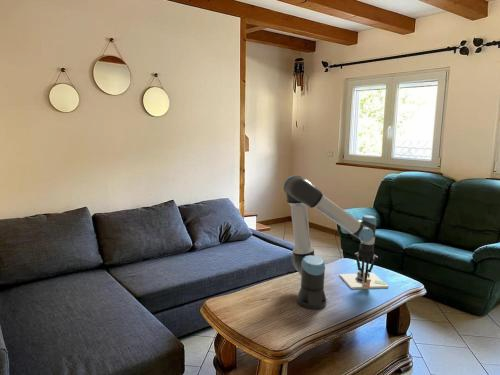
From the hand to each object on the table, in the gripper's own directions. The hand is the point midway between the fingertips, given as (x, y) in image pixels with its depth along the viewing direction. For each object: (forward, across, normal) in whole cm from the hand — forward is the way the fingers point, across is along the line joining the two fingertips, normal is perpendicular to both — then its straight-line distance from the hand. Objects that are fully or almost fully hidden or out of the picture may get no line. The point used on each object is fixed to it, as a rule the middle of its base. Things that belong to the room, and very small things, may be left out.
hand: (363, 282), depth 207 cm
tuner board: (+3, -1, +8) cm, 9 cm away
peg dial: (+1, +1, +4) cm, 4 cm away
